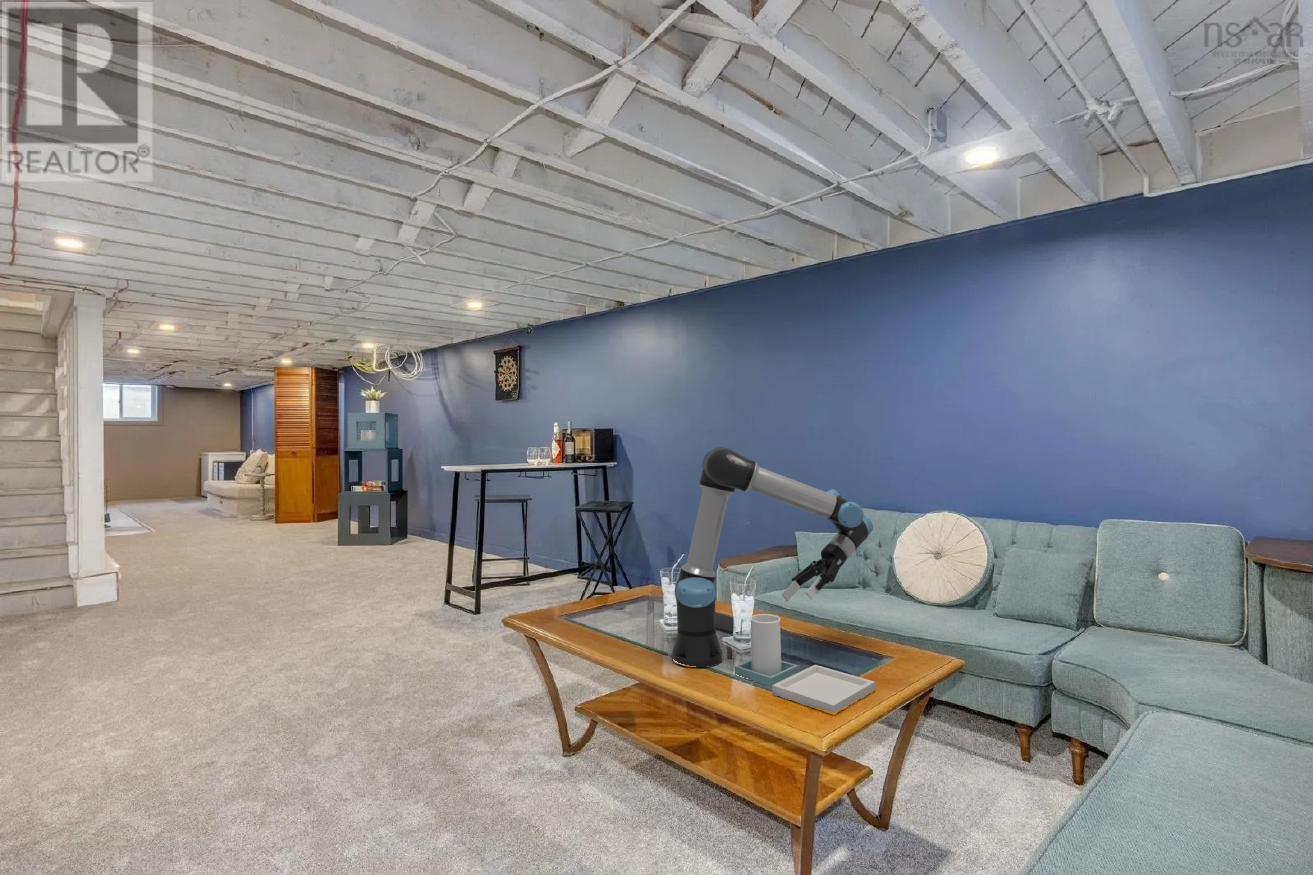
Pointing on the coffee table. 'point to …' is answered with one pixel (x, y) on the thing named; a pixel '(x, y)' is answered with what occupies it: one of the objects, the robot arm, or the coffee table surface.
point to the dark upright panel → (724, 623)
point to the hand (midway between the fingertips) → (796, 597)
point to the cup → (765, 644)
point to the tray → (823, 688)
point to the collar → (747, 672)
